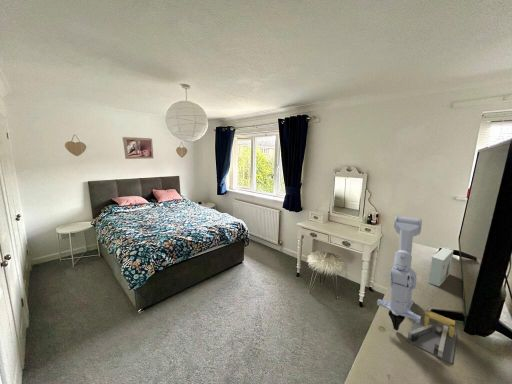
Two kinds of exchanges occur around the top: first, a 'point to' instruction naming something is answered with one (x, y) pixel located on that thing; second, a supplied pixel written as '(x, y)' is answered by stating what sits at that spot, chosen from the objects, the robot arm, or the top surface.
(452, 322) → the yellow arch block
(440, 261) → the skincare box
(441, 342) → the tongs fixed
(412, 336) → the tong arm
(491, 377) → the top surface
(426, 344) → the mat
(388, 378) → the top surface
